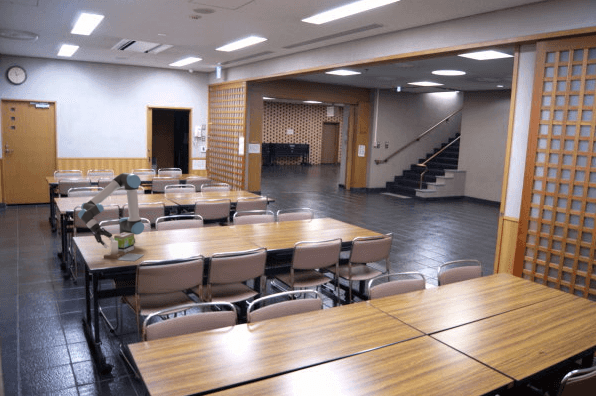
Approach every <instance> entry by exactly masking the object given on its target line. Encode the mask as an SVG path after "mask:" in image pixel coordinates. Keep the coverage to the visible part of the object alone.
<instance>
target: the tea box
mask: <svg viewBox="0 0 596 396" xmlns="http://www.w3.org/2000/svg"><path fill="white" fill-rule="evenodd" d="M134 238H135V234H134V233H126V232H124V233H121V234H120V233H118V234H115V235H114V237H113V239H114V240H115V241H118V251H123V252H125V254H127V253H128V252H131V251H133V250H134V249H135V243H134Z"/></svg>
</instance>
